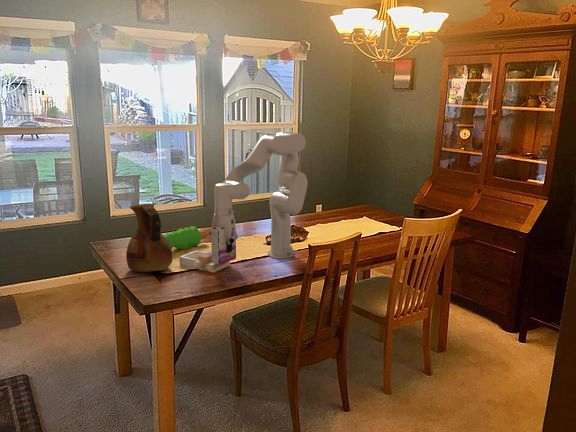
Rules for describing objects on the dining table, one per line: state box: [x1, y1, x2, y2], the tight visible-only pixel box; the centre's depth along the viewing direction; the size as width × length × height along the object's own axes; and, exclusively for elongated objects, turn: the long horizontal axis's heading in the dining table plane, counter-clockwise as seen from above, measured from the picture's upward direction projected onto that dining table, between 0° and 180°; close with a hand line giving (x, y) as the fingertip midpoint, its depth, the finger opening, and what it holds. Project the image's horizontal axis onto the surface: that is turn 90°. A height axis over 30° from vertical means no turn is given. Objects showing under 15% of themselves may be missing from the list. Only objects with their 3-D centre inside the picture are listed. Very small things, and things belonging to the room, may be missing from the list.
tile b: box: [199, 254, 211, 263], centre depth 231 cm, size 4×4×2 cm
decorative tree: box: [163, 225, 208, 250], centre depth 257 cm, size 11×12×30 cm
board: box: [195, 259, 231, 273], centre depth 232 cm, size 10×12×3 cm
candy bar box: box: [210, 226, 237, 265], centre depth 227 cm, size 11×5×16 cm, turn 143°
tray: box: [178, 250, 208, 269], centre depth 237 cm, size 9×12×4 cm
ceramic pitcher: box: [125, 203, 173, 273], centre depth 224 cm, size 20×20×30 cm
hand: (223, 250), depth 228 cm, fingers closed on candy bar box, 5 cm apart
